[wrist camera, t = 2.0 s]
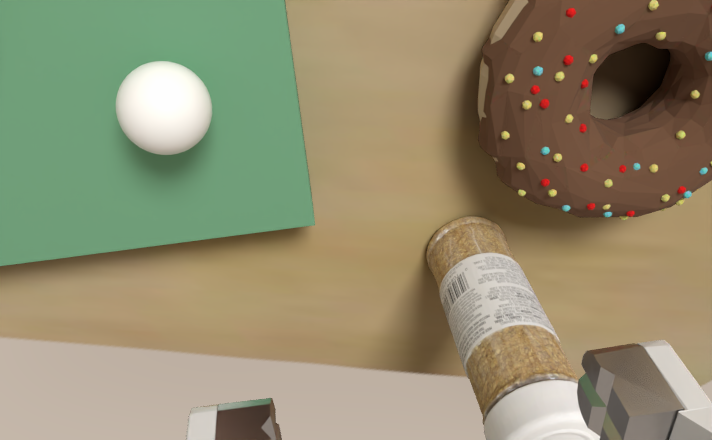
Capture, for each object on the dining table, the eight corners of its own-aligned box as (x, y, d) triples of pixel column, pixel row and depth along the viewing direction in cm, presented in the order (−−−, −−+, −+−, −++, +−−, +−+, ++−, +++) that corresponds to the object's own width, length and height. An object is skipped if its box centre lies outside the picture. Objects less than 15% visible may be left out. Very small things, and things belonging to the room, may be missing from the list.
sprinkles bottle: (467, 288, 37) (553, 503, 26) (407, 257, 35) (472, 474, 24) (522, 234, 35) (638, 441, 24) (461, 197, 33) (558, 404, 22)
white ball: (113, 53, 24) (93, 89, 22) (204, 42, 25) (197, 77, 22) (138, 134, 26) (123, 177, 24) (222, 124, 27) (217, 165, 24)
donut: (632, 212, 36) (680, 268, 31) (416, 138, 31) (438, 192, 27) (824, -38, 29) (917, -8, 25) (579, -178, 24) (643, -168, 20)
